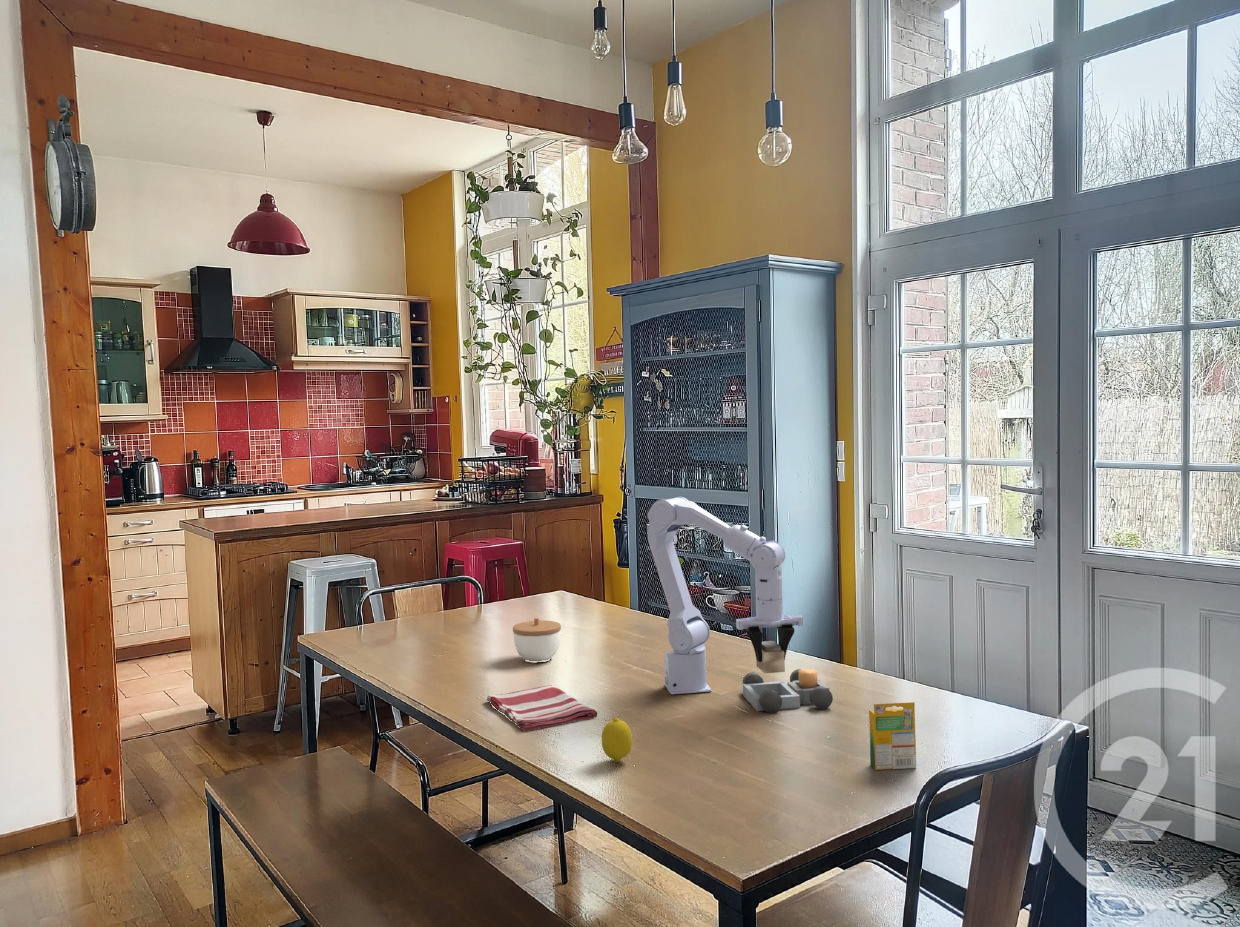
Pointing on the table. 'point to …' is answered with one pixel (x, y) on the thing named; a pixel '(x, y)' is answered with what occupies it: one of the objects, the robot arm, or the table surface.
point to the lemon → (616, 739)
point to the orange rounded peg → (807, 678)
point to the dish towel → (541, 707)
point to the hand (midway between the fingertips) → (770, 660)
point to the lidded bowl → (537, 639)
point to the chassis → (784, 693)
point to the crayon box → (892, 736)
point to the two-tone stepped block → (771, 658)
